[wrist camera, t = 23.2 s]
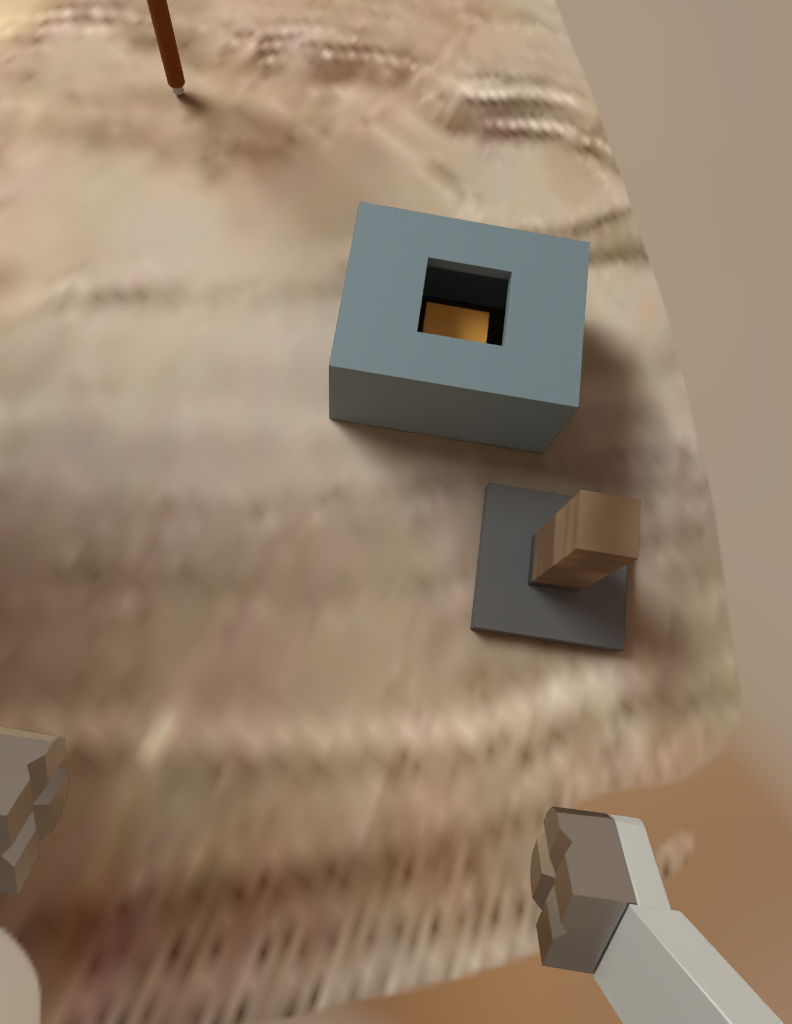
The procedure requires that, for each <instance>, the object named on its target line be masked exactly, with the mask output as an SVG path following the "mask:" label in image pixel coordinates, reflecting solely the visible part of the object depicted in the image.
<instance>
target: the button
mask: <svg viewBox="0 0 792 1024" xmlns="http://www.w3.org/2000/svg"><path fill="white" fill-rule="evenodd" d="M489 314H490V313H489V312H483V311H477V310H472V309H466V308H460V307H454V306H448V305H442V304H437V303H431V302H427V306H426V310H425V315H424V319H423V324H422V330H421V332H422V333H428V334H434V335H440V336H446V337H452V338H458V339H463V340H469V341H475V342H481V343H486V340H487V331H488V322H489Z"/></svg>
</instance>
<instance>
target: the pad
mask: <svg viewBox="0 0 792 1024" xmlns="http://www.w3.org/2000/svg"><path fill="white" fill-rule="evenodd" d="M572 498H573V496H567V495H560V494H554V493H548V492H542V491H536V490H529V489H523V488H517V487H511V486H505V485H498V484H492V483H488V485H487V487H486V488H485V498H484V507H483V516H482V526H481V535H480V544H479V553H478V563H477V572H476V581H475V591H474V600H473V609H472V619H471V628H470V629H473V630H480V631H486V632H493V633H499V634H506V635H513V636H519V637H526V638H532V639H539V640H545V641H552V642H558V643H565V644H571V645H578V646H584V647H591V648H598V649H604V650H611V651H621V650H624V633H625V609H626V586H627V565H625V566H624V567H622V568H620V569H618V570H616V571H615V572H613V573H611V574H609V575H607V576H606V577H604V578H602V579H600V580H598V581H597V582H595V583H593V584H591V585H589V586H588V587H586V588H584V589H582V590H580V591H579V592H577V593H576V592H570V591H564V590H558V589H552V588H546V587H540V586H534V585H528V576H529V565H530V555H531V544H532V536H533V535H534V534H535V533H536V532H538V531H539V530H540V529H541V528H542V527H543V526H544V525H545V524H546V523H547V522H548V521H549V520H550V519H551V518H552V517H553V516H554V515H555V514H556V513H557V512H558V511H559V510H560V509H562V508H563V507H564V506H565V505H566V504H567V503H568V502H569V501H570V500H571V499H572Z"/></svg>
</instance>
